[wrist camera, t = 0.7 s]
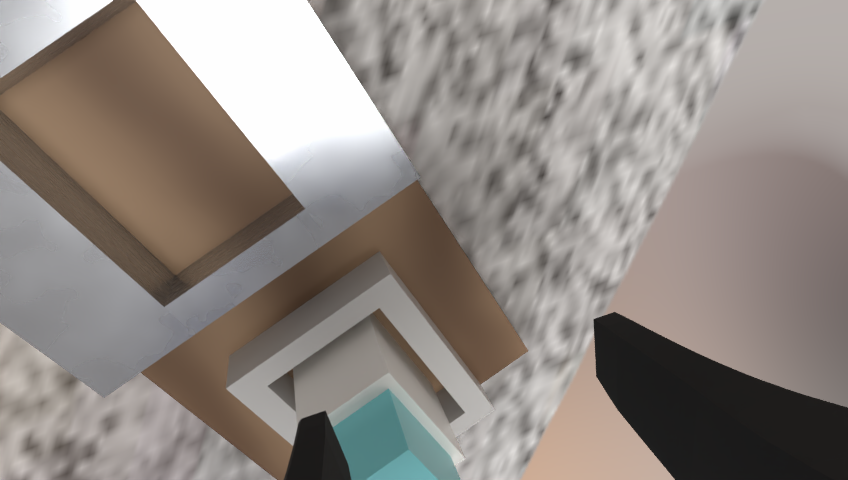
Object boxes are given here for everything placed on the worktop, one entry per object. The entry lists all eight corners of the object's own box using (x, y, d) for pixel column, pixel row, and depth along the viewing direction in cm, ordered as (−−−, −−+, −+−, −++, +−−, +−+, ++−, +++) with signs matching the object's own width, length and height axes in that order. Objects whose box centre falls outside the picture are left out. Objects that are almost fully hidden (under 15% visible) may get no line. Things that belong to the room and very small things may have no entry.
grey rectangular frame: (354, 468, 26) (360, 504, 25) (229, 355, 22) (225, 388, 20) (478, 381, 26) (495, 410, 25) (379, 251, 22) (390, 273, 20)
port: (121, 357, 21) (104, 397, 18) (-163, 134, 15) (-233, 153, 13) (404, 160, 21) (420, 177, 19) (217, -128, 16) (208, -152, 13)
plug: (366, 428, 26) (404, 584, 19) (291, 355, 23) (303, 505, 16) (431, 383, 26) (493, 521, 19) (364, 303, 23) (409, 431, 16)
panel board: (307, 491, 27) (308, 504, 27) (-160, 116, 16) (-180, 120, 15) (521, 342, 27) (528, 351, 27) (208, -138, 16) (205, -145, 15)
